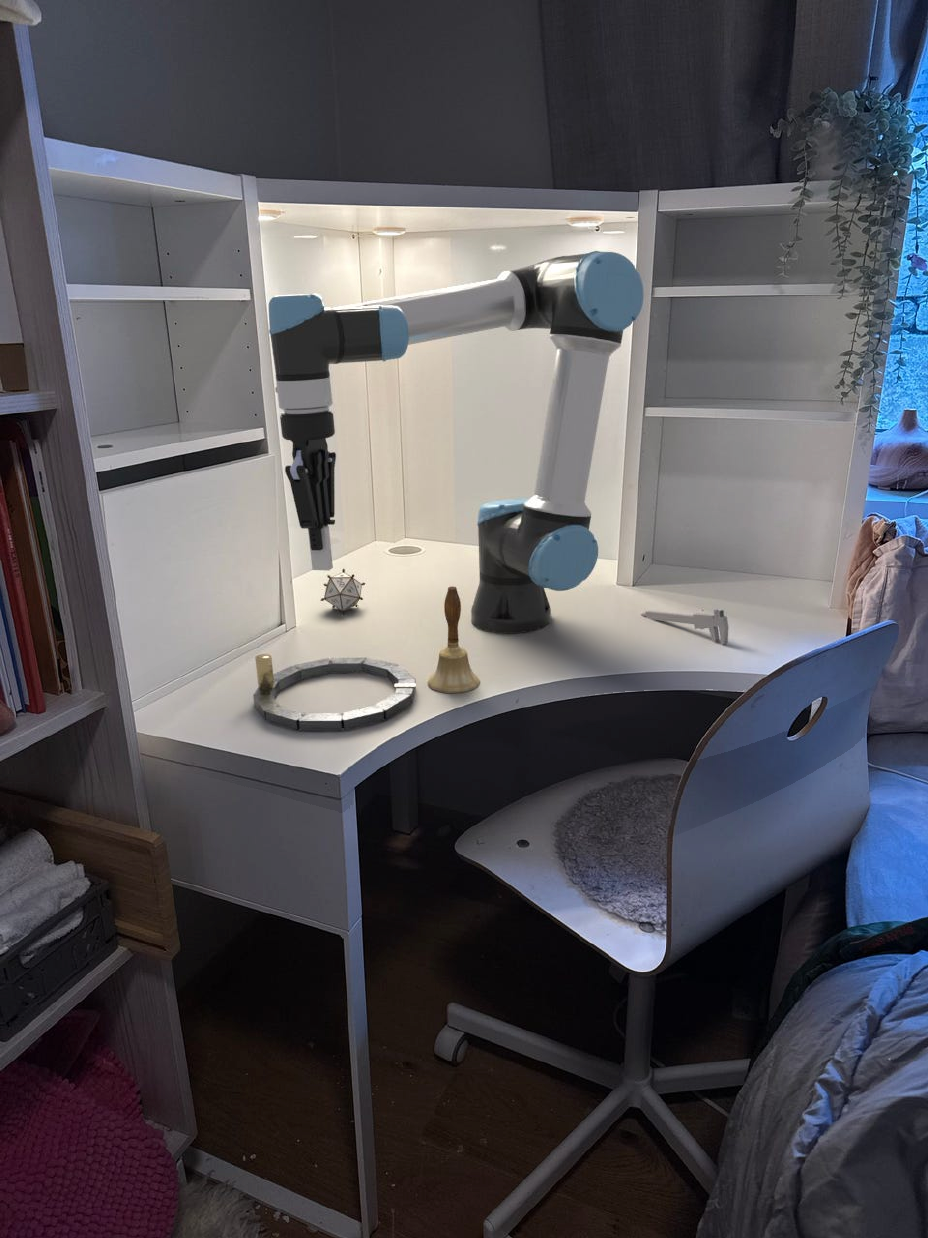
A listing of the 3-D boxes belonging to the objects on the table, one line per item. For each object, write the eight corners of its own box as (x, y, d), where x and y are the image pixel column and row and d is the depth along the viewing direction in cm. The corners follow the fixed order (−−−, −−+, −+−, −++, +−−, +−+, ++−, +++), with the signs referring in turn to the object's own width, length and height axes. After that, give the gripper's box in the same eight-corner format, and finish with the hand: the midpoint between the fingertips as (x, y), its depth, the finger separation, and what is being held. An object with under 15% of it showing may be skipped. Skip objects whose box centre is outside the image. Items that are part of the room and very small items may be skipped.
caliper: (727, 645, 154) (730, 611, 152) (723, 647, 153) (725, 612, 151) (644, 615, 170) (645, 584, 168) (640, 616, 170) (641, 585, 168)
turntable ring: (278, 667, 149) (274, 630, 146) (423, 666, 147) (421, 628, 145) (237, 731, 126) (232, 688, 124) (407, 730, 125) (405, 687, 122)
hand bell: (478, 672, 145) (476, 578, 140) (481, 692, 137) (478, 594, 132) (427, 674, 145) (423, 580, 140) (427, 694, 137) (423, 596, 132)
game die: (355, 628, 178) (377, 594, 173) (317, 621, 173) (338, 586, 168) (347, 596, 184) (368, 562, 178) (309, 589, 179) (330, 554, 174)
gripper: (301, 404, 133) (317, 556, 141) (261, 416, 121) (281, 580, 129) (347, 403, 131) (361, 557, 139) (311, 415, 119) (328, 582, 127)
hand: (322, 568), depth 134 cm, fingers closed
